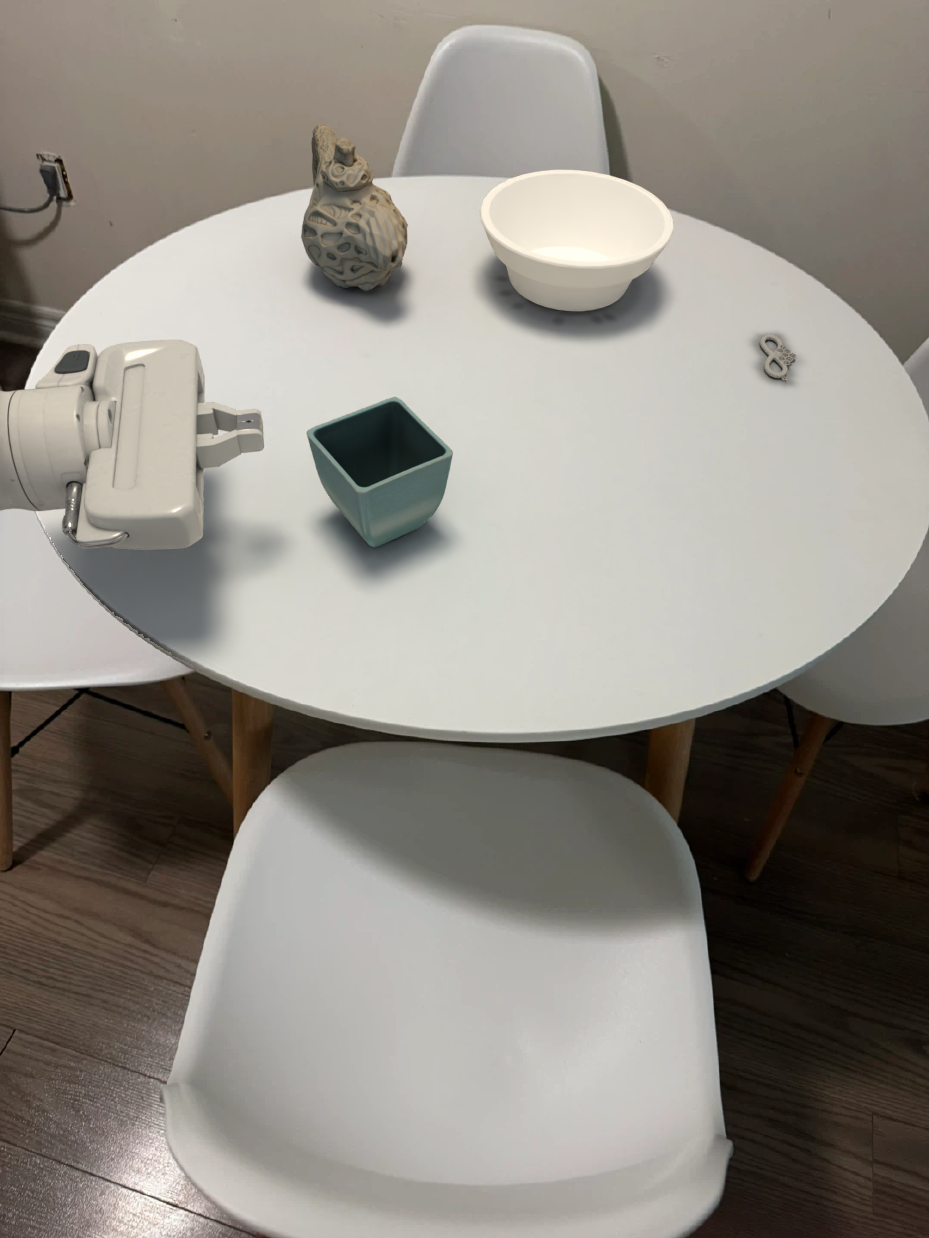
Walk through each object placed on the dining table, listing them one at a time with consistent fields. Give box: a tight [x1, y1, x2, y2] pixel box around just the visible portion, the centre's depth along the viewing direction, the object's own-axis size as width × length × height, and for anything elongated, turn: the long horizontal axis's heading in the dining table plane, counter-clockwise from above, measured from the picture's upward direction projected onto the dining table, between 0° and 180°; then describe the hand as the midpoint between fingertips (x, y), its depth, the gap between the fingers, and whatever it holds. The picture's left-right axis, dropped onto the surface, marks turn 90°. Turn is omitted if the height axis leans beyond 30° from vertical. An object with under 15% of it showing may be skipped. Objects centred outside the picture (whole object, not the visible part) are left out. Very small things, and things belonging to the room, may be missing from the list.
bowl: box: [479, 169, 674, 312], centre depth 98 cm, size 21×21×8 cm
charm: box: [759, 333, 797, 381], centre depth 93 cm, size 8×1×4 cm
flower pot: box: [306, 396, 454, 548], centre depth 73 cm, size 9×9×9 cm
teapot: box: [300, 124, 409, 292], centre depth 95 cm, size 21×12×15 cm, turn 26°
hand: (262, 429), depth 67 cm, fingers closed
